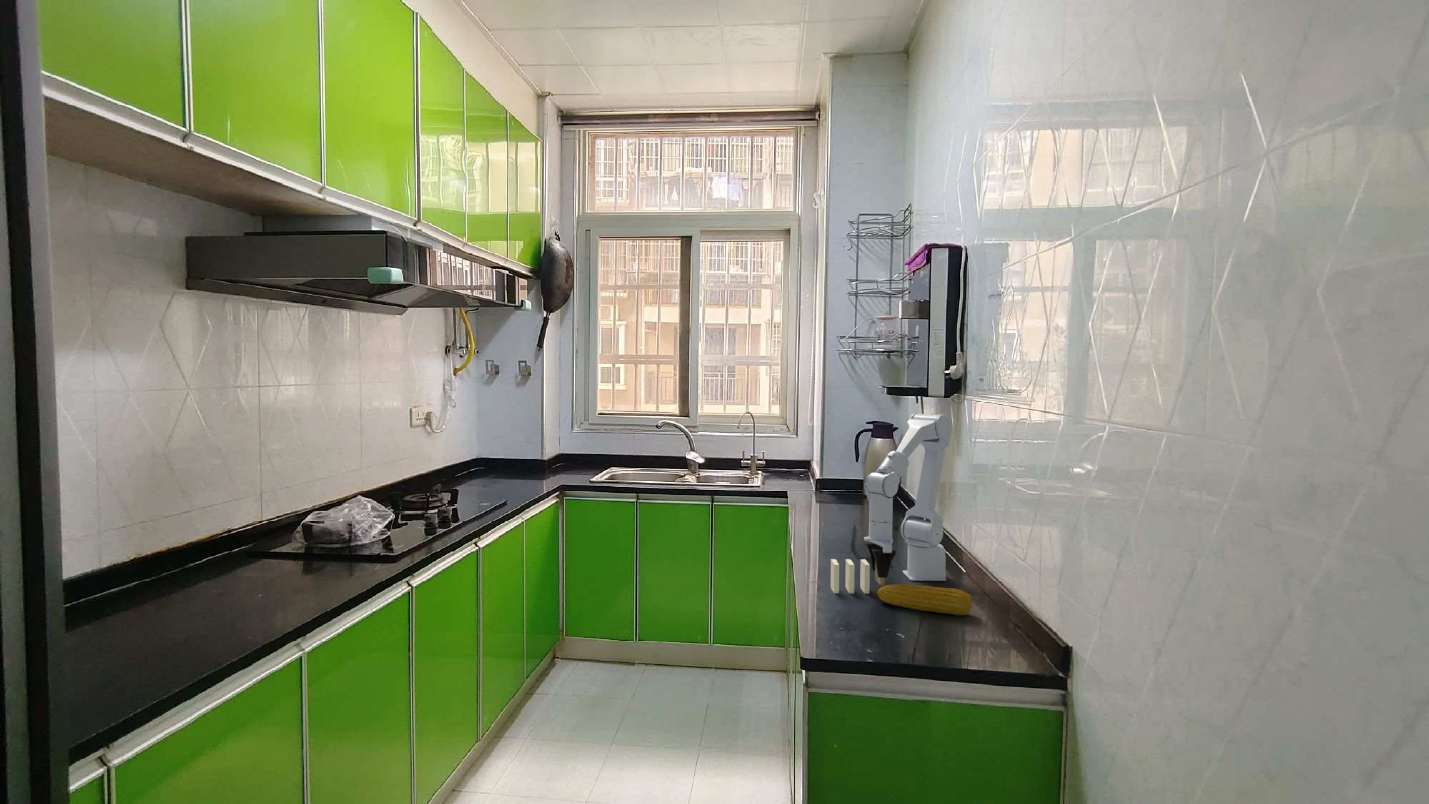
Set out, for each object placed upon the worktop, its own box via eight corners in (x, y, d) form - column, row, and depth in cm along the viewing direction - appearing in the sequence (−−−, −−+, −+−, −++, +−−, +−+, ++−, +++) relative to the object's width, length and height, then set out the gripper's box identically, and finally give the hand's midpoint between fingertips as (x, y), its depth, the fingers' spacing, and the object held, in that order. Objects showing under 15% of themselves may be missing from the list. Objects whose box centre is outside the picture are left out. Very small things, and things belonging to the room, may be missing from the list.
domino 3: (864, 587, 171) (865, 559, 171) (869, 593, 166) (869, 564, 166) (860, 587, 171) (860, 559, 171) (864, 593, 166) (865, 564, 166)
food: (972, 613, 153) (972, 587, 152) (969, 621, 147) (970, 595, 147) (879, 599, 162) (879, 575, 162) (874, 606, 157) (874, 581, 156)
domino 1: (835, 587, 171) (835, 559, 171) (838, 593, 166) (839, 564, 166) (830, 587, 171) (830, 559, 171) (834, 593, 166) (834, 564, 166)
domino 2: (850, 587, 171) (850, 559, 171) (854, 593, 166) (854, 564, 166) (845, 587, 171) (845, 559, 171) (849, 593, 166) (849, 564, 166)
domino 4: (879, 579, 171) (879, 551, 170) (884, 585, 166) (884, 556, 165) (874, 578, 171) (875, 551, 170) (879, 585, 166) (880, 556, 165)
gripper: (858, 514, 175) (857, 565, 175) (871, 526, 160) (870, 582, 161) (885, 514, 175) (884, 565, 175) (900, 526, 160) (900, 582, 161)
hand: (879, 573), depth 168 cm, fingers closed on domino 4, 5 cm apart
